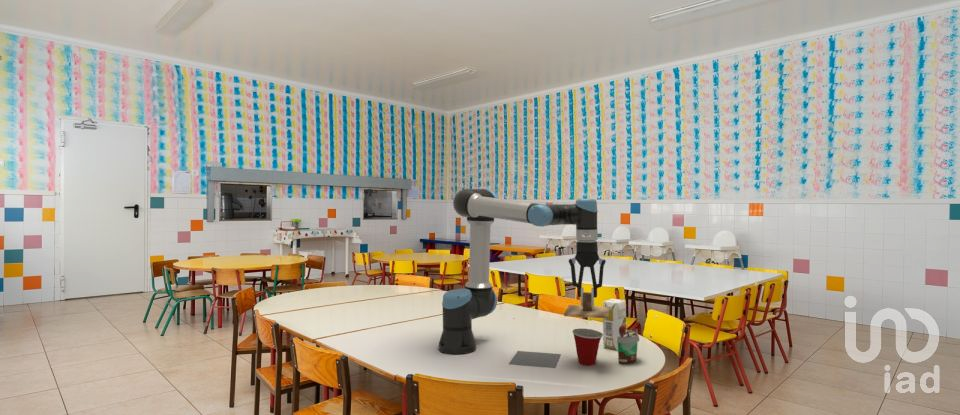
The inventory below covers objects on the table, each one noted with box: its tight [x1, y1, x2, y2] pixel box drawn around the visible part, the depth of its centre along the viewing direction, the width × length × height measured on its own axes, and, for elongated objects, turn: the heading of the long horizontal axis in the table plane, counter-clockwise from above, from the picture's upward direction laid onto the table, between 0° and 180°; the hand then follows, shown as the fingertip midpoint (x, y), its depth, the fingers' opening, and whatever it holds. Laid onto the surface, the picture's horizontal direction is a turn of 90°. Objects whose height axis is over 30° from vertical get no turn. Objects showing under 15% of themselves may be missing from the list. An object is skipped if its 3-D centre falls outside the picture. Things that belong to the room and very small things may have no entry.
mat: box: [508, 350, 562, 369], centre depth 188 cm, size 17×17×1 cm
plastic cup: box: [572, 328, 603, 367], centre depth 183 cm, size 11×11×12 cm
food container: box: [617, 329, 640, 365], centre depth 186 cm, size 12×6×10 cm, turn 148°
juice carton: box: [602, 298, 627, 351], centre depth 204 cm, size 8×9×19 cm
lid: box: [563, 291, 610, 319], centre depth 182 cm, size 15×15×7 cm
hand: (587, 306), depth 182 cm, fingers closed on lid, 3 cm apart
